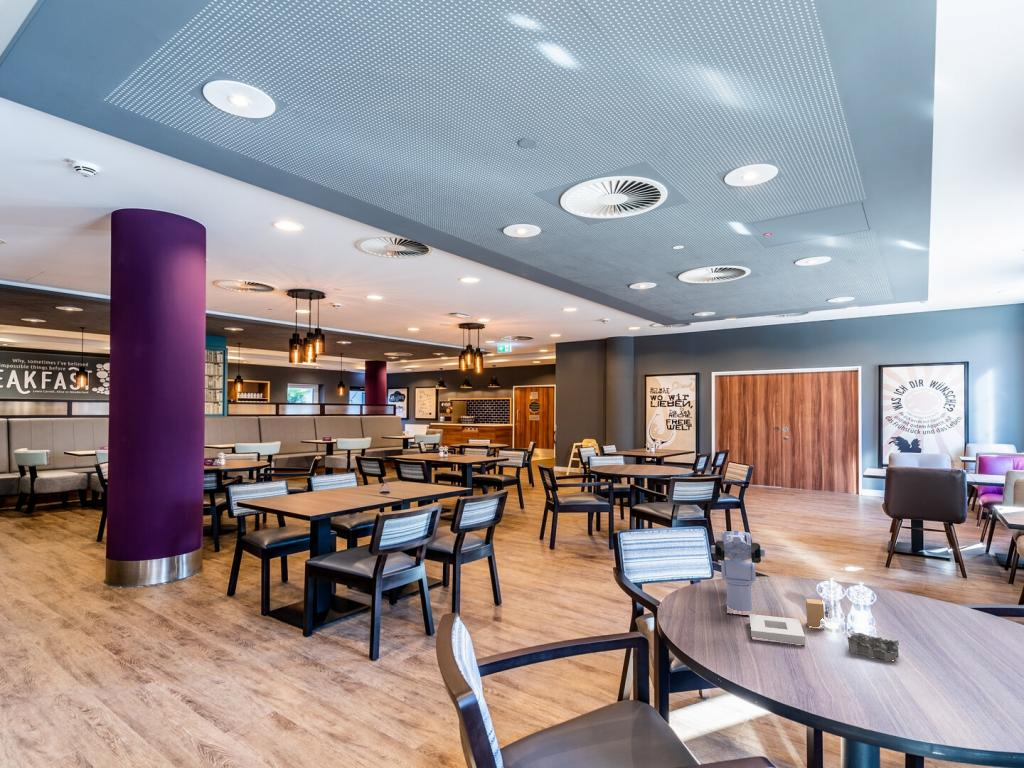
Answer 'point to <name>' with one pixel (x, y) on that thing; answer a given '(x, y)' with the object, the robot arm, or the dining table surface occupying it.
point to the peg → (814, 612)
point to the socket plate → (787, 633)
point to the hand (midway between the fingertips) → (737, 555)
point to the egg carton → (873, 646)
